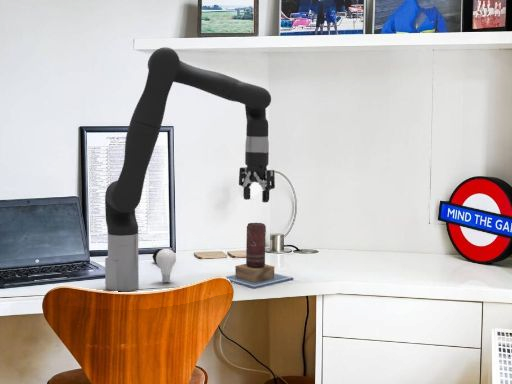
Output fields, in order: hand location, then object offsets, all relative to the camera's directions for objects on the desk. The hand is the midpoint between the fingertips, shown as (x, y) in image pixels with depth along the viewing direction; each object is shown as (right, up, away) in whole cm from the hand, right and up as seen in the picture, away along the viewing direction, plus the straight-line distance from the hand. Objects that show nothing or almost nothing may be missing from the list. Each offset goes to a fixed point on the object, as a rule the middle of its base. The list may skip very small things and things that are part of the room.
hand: (256, 200), depth 216 cm
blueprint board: (0, -26, +4) cm, 26 cm away
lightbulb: (-29, -26, -2) cm, 39 cm away
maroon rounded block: (0, -22, +3) cm, 22 cm away
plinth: (0, -25, +3) cm, 26 cm away
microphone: (-33, -24, +19) cm, 45 cm away
